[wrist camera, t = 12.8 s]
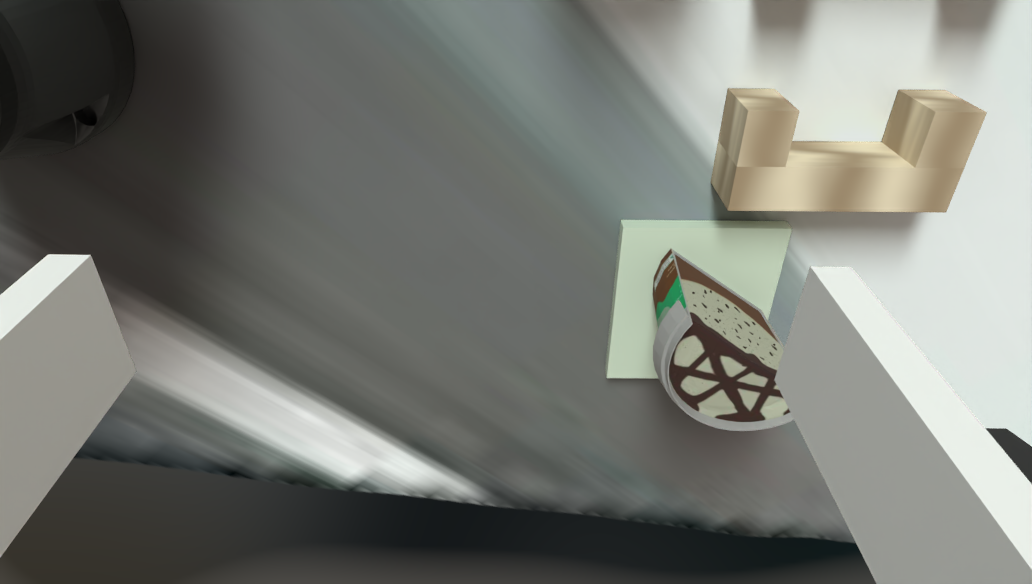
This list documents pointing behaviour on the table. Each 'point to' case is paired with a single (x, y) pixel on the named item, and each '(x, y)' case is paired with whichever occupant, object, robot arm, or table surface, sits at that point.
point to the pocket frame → (843, 157)
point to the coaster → (706, 243)
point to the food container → (715, 350)
